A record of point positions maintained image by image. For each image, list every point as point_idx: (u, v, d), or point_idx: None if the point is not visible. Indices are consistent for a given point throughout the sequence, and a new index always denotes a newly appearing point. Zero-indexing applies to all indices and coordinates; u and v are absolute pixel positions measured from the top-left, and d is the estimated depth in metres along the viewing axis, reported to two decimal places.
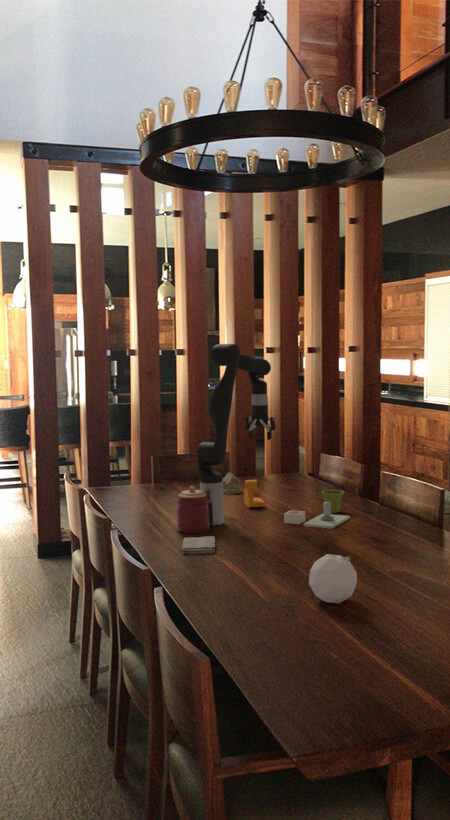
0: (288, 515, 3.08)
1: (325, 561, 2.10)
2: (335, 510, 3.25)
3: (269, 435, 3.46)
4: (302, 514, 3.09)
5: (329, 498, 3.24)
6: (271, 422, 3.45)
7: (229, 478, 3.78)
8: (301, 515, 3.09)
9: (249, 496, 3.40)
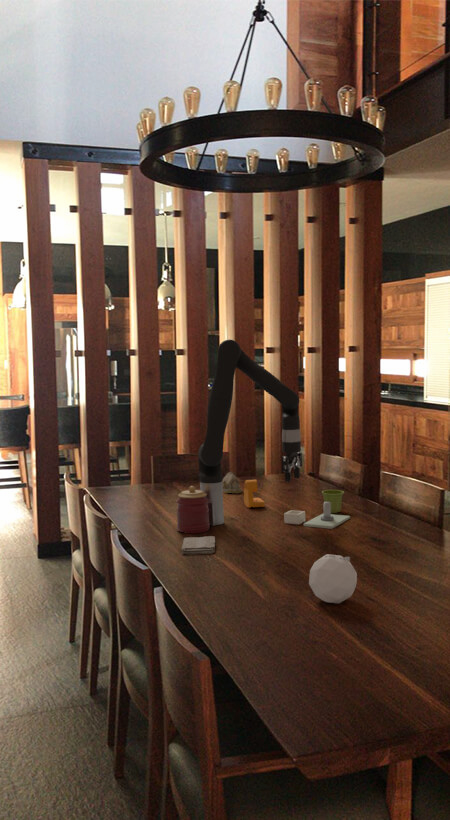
0: (288, 515, 3.08)
1: (325, 561, 2.10)
2: (335, 510, 3.25)
3: None
4: (302, 514, 3.09)
5: (329, 498, 3.24)
6: (301, 458, 3.16)
7: (229, 478, 3.78)
8: (301, 515, 3.09)
9: (249, 496, 3.40)
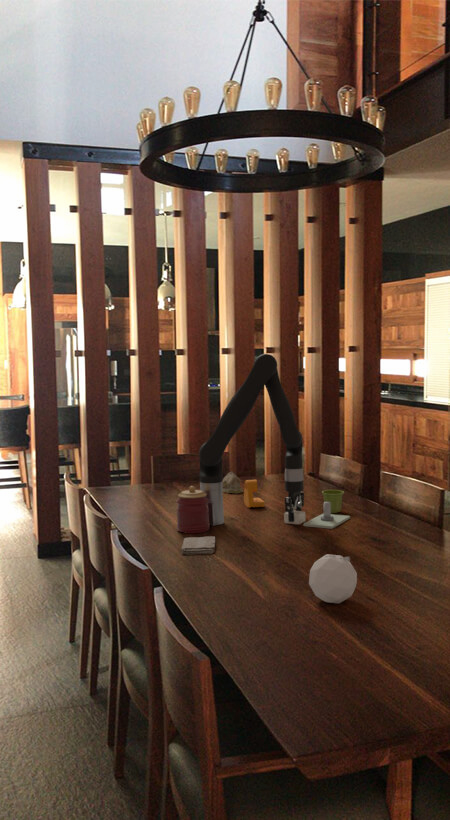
0: None
1: (325, 561, 2.10)
2: (335, 510, 3.25)
3: None
4: (302, 514, 3.09)
5: (329, 498, 3.24)
6: (303, 497, 3.15)
7: (230, 478, 3.78)
8: (301, 515, 3.09)
9: (249, 496, 3.40)
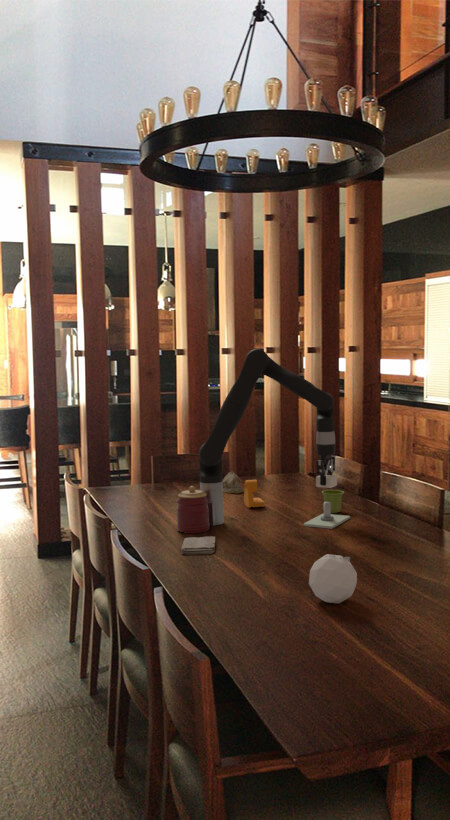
0: None
1: (325, 561, 2.10)
2: (335, 510, 3.25)
3: None
4: (334, 478, 3.07)
5: (329, 498, 3.24)
6: (334, 462, 3.12)
7: (231, 478, 3.79)
8: (333, 478, 3.06)
9: (249, 496, 3.39)
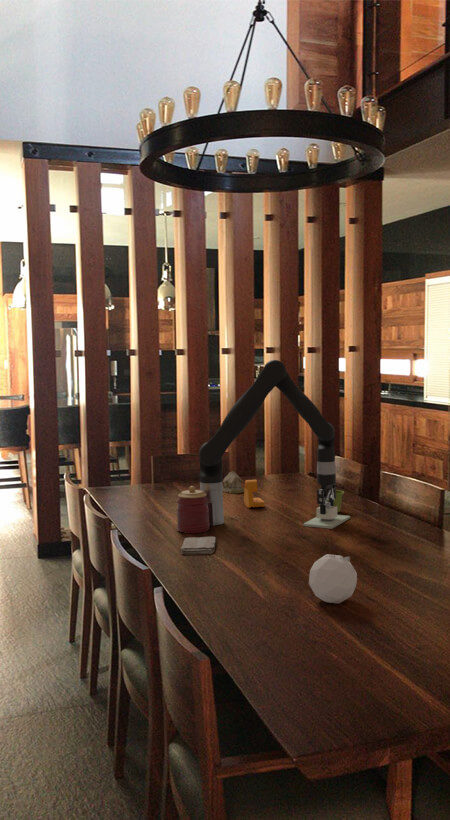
0: None
1: (325, 561, 2.10)
2: None
3: None
4: (334, 509, 3.08)
5: None
6: (335, 489, 3.13)
7: (232, 477, 3.79)
8: (333, 510, 3.07)
9: (249, 496, 3.39)
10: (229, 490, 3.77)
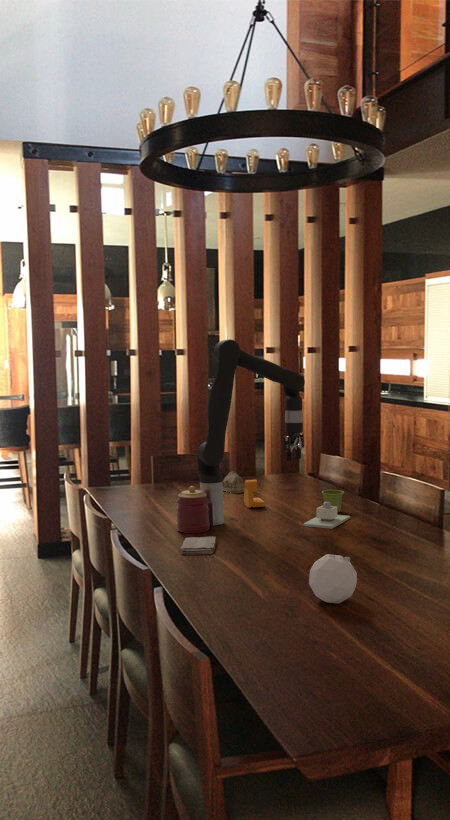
0: (320, 510, 3.07)
1: (325, 561, 2.10)
2: None
3: None
4: (334, 509, 3.08)
5: (329, 498, 3.24)
6: (303, 439, 3.25)
7: (233, 477, 3.80)
8: (333, 510, 3.07)
9: (249, 496, 3.39)
10: (230, 490, 3.77)
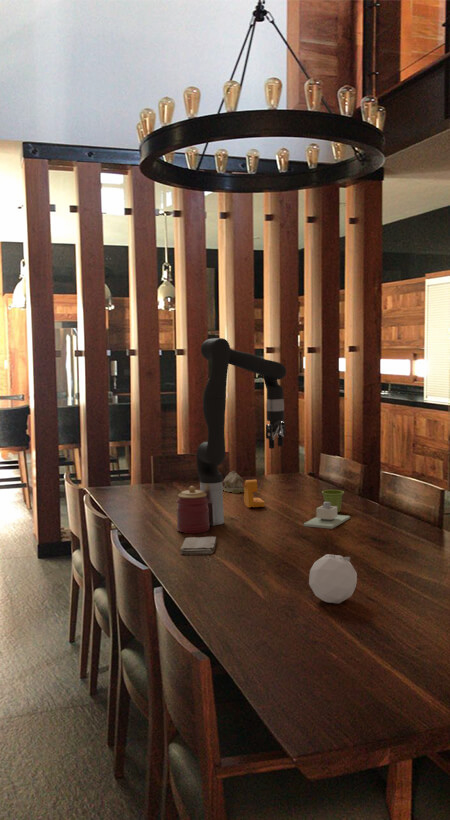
0: (320, 510, 3.07)
1: (325, 561, 2.10)
2: None
3: None
4: (334, 509, 3.08)
5: (329, 498, 3.24)
6: (284, 427, 3.33)
7: (233, 477, 3.80)
8: (333, 510, 3.07)
9: (249, 496, 3.39)
10: (230, 490, 3.78)
